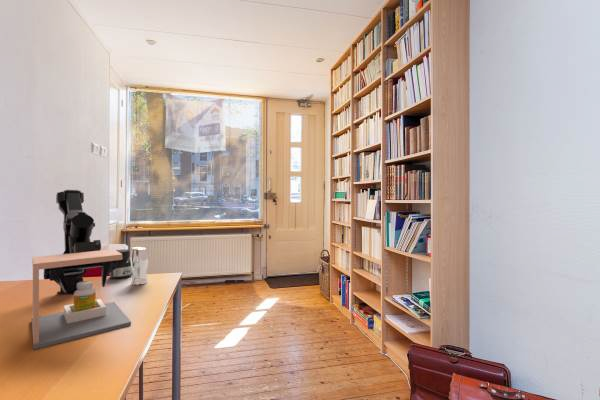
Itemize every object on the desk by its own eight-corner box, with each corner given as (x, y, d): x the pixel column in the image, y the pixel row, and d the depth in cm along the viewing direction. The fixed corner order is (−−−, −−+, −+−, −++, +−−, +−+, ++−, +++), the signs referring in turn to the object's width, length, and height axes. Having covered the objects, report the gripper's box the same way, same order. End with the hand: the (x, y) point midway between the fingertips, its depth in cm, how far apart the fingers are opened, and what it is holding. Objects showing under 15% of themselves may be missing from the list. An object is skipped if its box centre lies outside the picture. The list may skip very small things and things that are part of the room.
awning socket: (31, 321, 89) (31, 251, 88) (114, 304, 103) (114, 244, 103) (33, 349, 72) (33, 264, 72) (131, 325, 87) (131, 254, 86)
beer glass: (152, 281, 131) (152, 247, 131) (139, 286, 124) (139, 249, 124) (140, 280, 133) (139, 246, 133) (126, 284, 126) (126, 248, 126)
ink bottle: (115, 280, 132) (115, 253, 132) (104, 277, 137) (104, 251, 137) (136, 275, 141) (137, 250, 140) (126, 273, 145) (126, 248, 145)
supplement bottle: (77, 319, 88) (77, 286, 88) (71, 315, 91) (70, 283, 91) (98, 313, 92) (98, 281, 92) (91, 309, 95) (91, 279, 95)
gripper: (44, 234, 88) (46, 279, 80) (117, 229, 101) (125, 268, 93) (42, 257, 94) (44, 301, 86) (112, 250, 106) (119, 288, 98)
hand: (85, 289), depth 90 cm, fingers open, 9 cm apart
